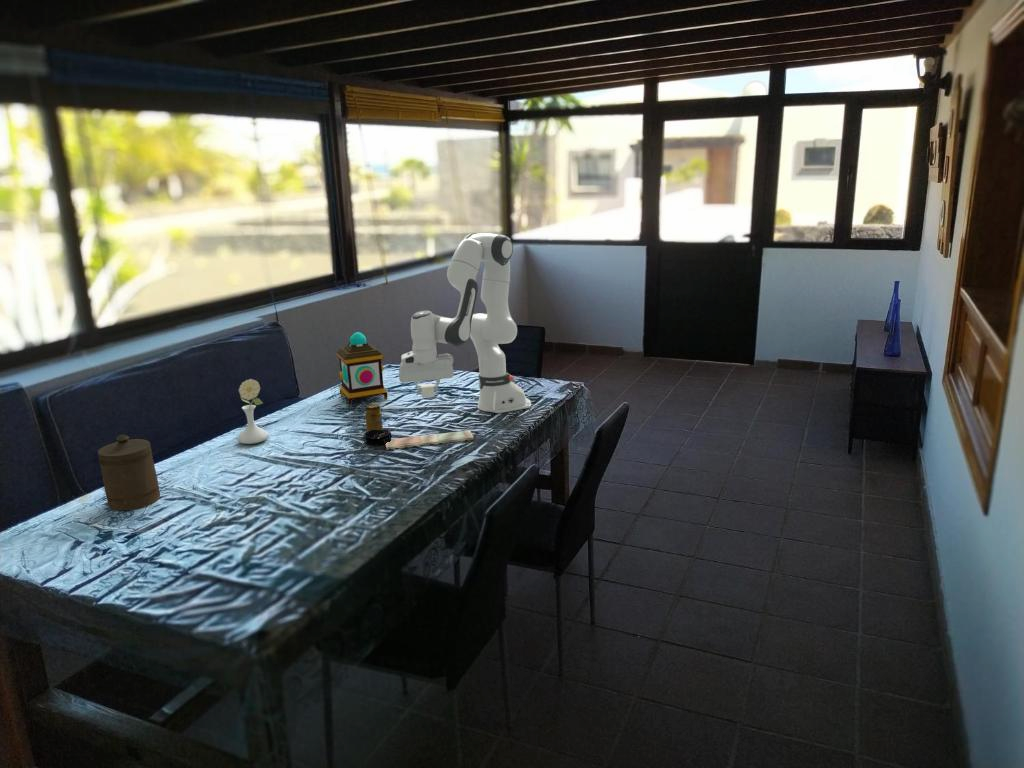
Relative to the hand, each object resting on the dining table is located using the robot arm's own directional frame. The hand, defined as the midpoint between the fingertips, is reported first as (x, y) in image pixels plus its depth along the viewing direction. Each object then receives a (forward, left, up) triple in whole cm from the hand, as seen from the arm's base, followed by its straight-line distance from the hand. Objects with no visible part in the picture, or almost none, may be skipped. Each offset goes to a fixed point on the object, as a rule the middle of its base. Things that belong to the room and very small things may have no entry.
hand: (427, 391), depth 278 cm
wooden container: (+97, +31, -17) cm, 103 cm away
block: (0, 0, -2) cm, 2 cm away
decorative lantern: (+23, -56, -17) cm, 64 cm away
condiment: (+20, -4, -17) cm, 27 cm away
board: (+1, +8, -17) cm, 19 cm away
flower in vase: (+65, -13, -17) cm, 69 cm away
